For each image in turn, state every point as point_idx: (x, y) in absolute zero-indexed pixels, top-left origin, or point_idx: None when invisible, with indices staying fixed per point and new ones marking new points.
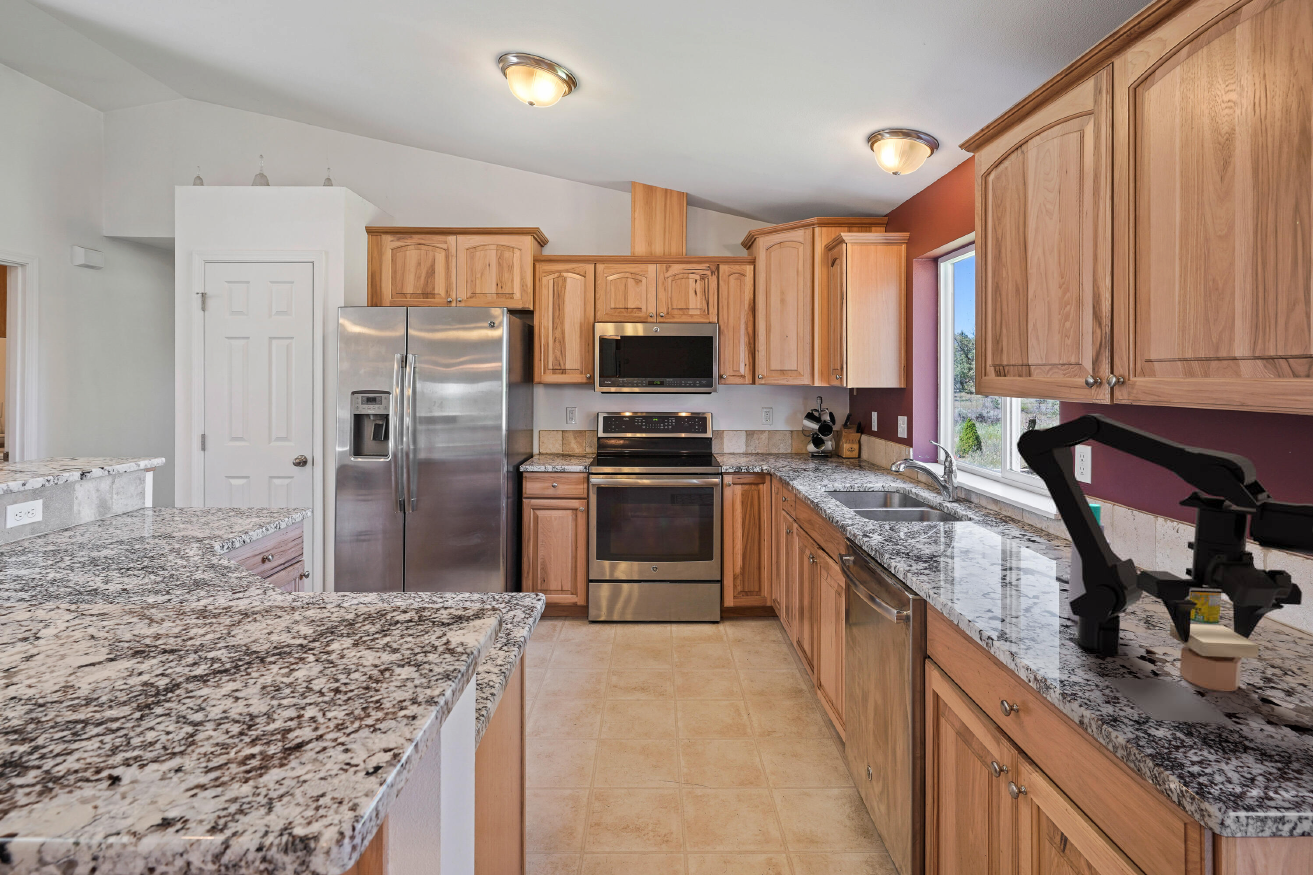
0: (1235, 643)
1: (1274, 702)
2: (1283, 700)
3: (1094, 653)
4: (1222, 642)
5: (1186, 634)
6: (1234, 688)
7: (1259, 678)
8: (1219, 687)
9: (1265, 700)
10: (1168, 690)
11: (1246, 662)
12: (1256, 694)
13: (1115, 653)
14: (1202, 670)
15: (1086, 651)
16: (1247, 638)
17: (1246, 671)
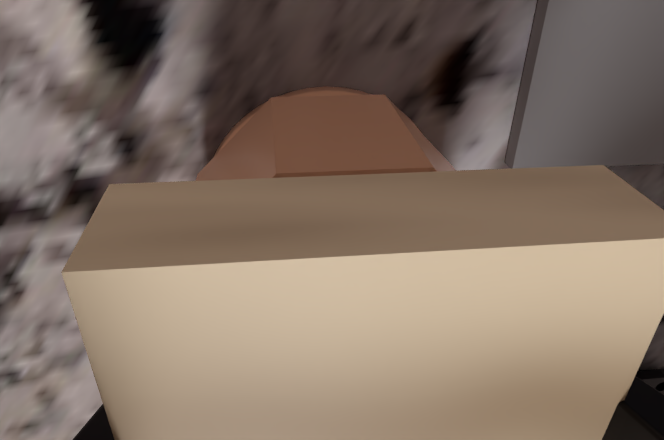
0: (344, 262)
1: (86, 11)
2: (14, 49)
3: (648, 378)
4: (475, 266)
5: (646, 394)
6: (276, 98)
7: (20, 299)
8: (361, 97)
9: (129, 33)
10: (649, 50)
11: (3, 436)
12: (139, 109)
13: None
14: None
15: (661, 389)
16: (82, 433)
17: (49, 357)
